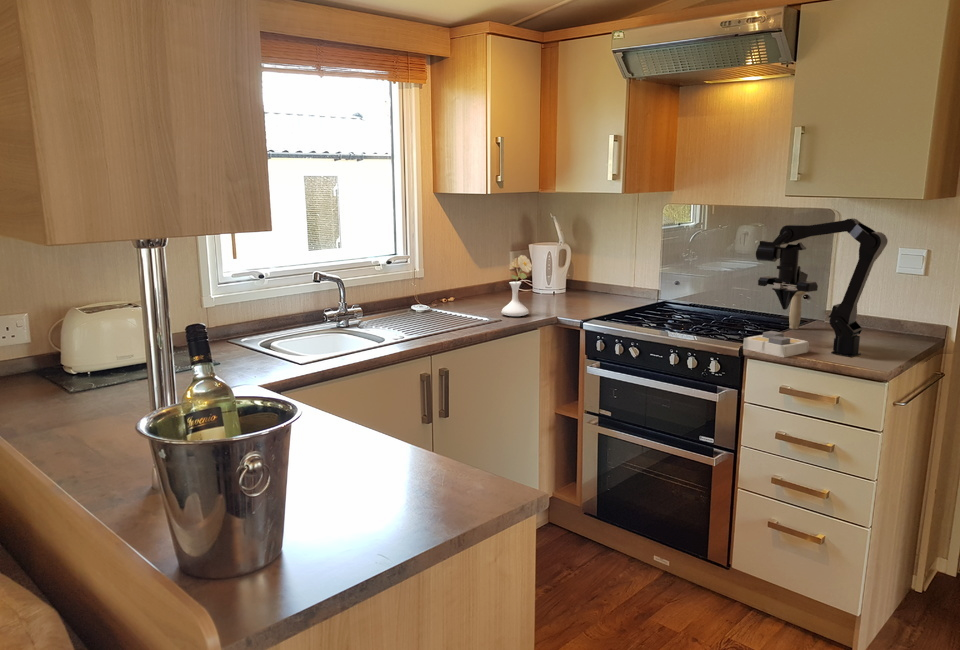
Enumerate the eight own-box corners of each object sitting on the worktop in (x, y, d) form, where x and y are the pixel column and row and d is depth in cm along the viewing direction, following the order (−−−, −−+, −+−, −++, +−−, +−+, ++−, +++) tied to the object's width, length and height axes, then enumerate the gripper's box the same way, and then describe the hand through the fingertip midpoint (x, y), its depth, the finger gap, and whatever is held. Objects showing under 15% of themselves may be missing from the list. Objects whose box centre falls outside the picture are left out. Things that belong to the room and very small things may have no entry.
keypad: (808, 352, 237) (808, 341, 236) (783, 357, 230) (784, 346, 229) (767, 343, 249) (768, 333, 248) (743, 348, 242) (743, 338, 241)
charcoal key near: (789, 347, 234) (790, 338, 233) (780, 349, 232) (781, 340, 231) (776, 345, 238) (777, 336, 237) (768, 346, 235) (768, 337, 235)
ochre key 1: (771, 348, 240) (772, 339, 239) (762, 350, 237) (763, 341, 236) (759, 346, 243) (760, 337, 243) (750, 347, 241) (751, 338, 240)
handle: (800, 330, 271) (803, 290, 268) (782, 328, 275) (785, 288, 272) (805, 329, 274) (808, 289, 271) (788, 326, 279) (791, 287, 276)
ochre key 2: (800, 350, 238) (801, 340, 237) (791, 351, 235) (792, 342, 235) (787, 347, 241) (788, 338, 241) (779, 349, 239) (779, 340, 238)
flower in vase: (510, 319, 295) (510, 257, 290) (496, 314, 305) (496, 254, 300) (537, 316, 301) (538, 255, 296) (522, 312, 311) (523, 253, 306)
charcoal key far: (783, 341, 243) (783, 333, 242) (774, 343, 240) (775, 334, 239) (770, 339, 246) (771, 330, 246) (762, 341, 244) (762, 332, 243)
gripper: (829, 264, 239) (824, 311, 242) (778, 259, 255) (774, 303, 258) (809, 266, 233) (805, 314, 236) (758, 261, 248) (755, 306, 251)
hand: (784, 309), depth 246 cm, fingers closed
